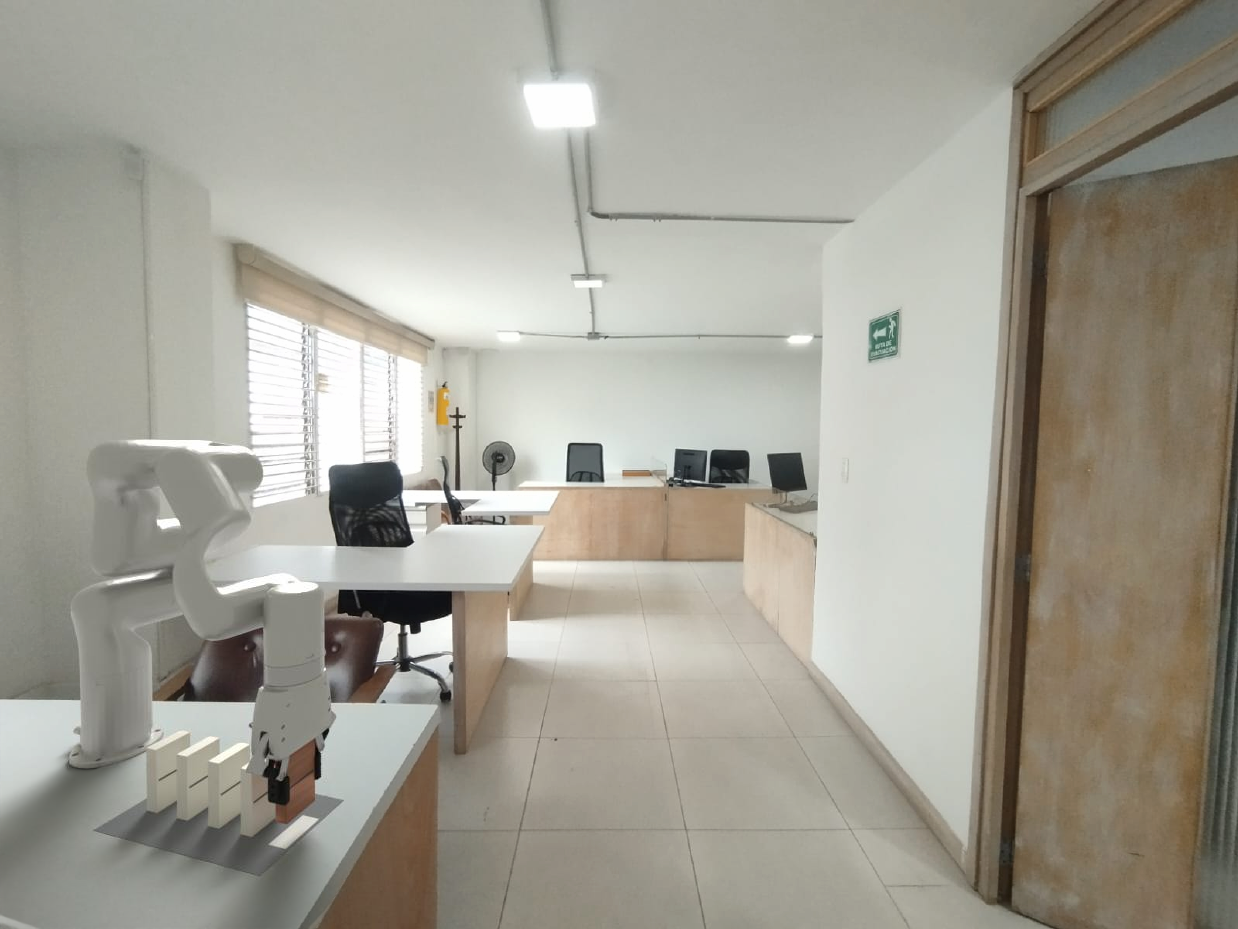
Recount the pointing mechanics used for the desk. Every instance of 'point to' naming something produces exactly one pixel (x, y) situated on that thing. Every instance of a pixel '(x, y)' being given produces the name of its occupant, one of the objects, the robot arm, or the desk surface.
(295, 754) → the domino
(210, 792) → the domino
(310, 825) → the domino mat
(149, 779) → the domino
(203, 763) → the domino
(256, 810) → the domino
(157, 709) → the desk surface
